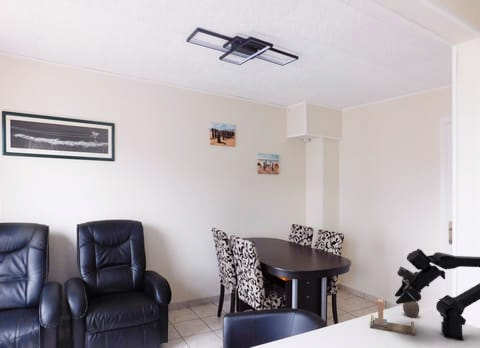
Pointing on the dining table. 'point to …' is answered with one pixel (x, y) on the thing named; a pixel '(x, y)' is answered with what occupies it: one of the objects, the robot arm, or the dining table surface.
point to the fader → (380, 315)
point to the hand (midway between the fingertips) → (395, 299)
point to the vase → (411, 309)
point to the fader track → (395, 327)
